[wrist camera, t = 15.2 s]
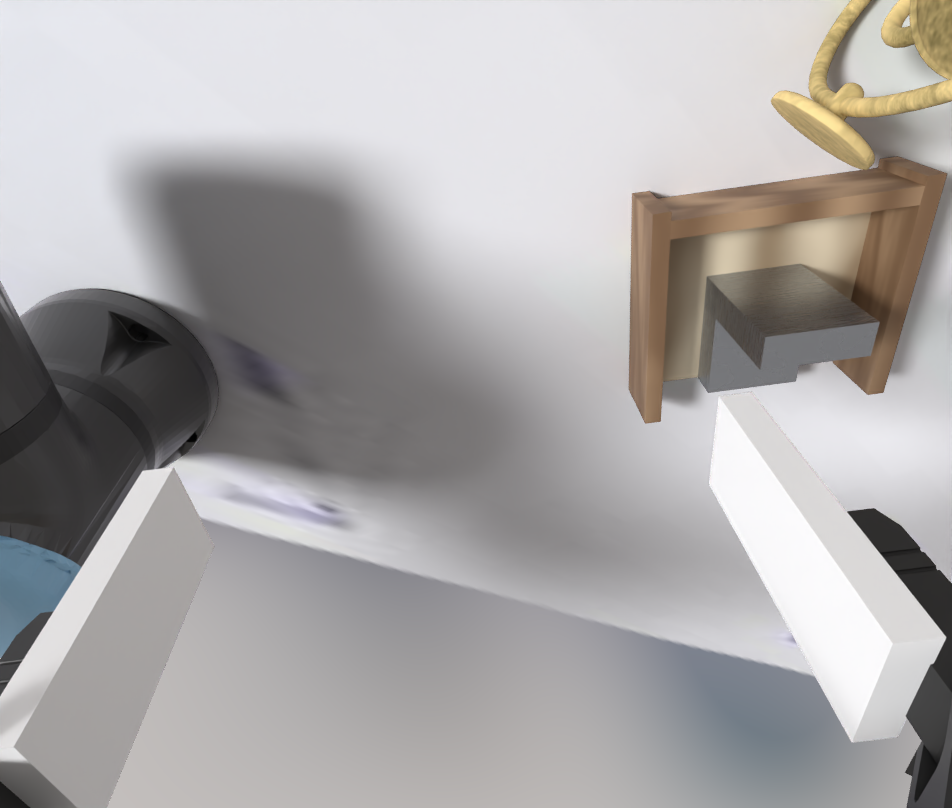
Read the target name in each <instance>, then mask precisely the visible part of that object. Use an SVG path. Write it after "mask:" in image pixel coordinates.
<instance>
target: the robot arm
mask: <svg viewBox="0 0 952 808" xmlns="http://www.w3.org/2000/svg"><path fill="white" fill-rule="evenodd" d="M217 403H218V383H217V378H216V374H215V371H214V368H213V366H212V363H211V361H210V359H209V357H208V356H207V354H206V352H205V351H204V349H203V348H202V346H201V345H200V344H199V342H198V341H197V340H196V339H195V337H194V336H193V335H192V334H191V333H190V332H189V331H188V330H187V329H186V328H185V327H184V326H183V325H182V324H180V323H179V322H178V321H177V320H175V319H174V318H173V317H171V316H170V315H168V314H167V313H165V312H164V311H162V310H161V309H159V308H157V307H155V306H153V305H151V304H149V303H147V302H145V301H143V300H140V299H138V298H135V297H132V296H129V295H126V294H122V293H118V292H114V291H108V290H100V289H77V290H70V291H65V292H61V293H58V294H55V295H52V296H50V297H48V298H46V299H44V300H42V301H40V302H39V303H38V304H36V305H35V306H34V307H32V308H31V309H30V310H28V311H27V312H26V313H24V314H23V315H22V316H21V317H19V316H18V314H17V312H16V310H15V308H14V306H13V304H12V303H11V301H10V299H9V297H8V295H7V293H6V291H5V289H4V287H3V285H2V283H1V281H0V658H1V659H0V808H107V806H108V804H109V801H110V799H111V796H112V794H113V791H114V789H115V786H116V784H117V782H118V779H119V777H120V774H121V772H122V770H123V767H124V765H125V762H126V760H127V758H128V755H129V753H130V750H131V748H132V745H133V743H134V740H135V738H136V736H137V733H138V731H139V728H140V726H141V723H142V721H143V719H144V716H145V714H146V711H147V709H148V707H149V704H150V702H151V699H152V697H153V694H154V692H155V690H156V687H157V685H158V683H159V680H160V678H161V675H162V673H163V670H164V668H165V666H166V663H167V661H168V658H169V656H170V653H171V651H172V648H173V646H174V644H175V641H176V639H177V636H178V634H179V632H180V629H181V627H182V624H183V622H184V620H185V617H186V615H187V612H188V610H189V607H190V605H191V603H192V600H193V598H194V595H195V593H196V590H197V588H198V586H199V583H200V581H201V578H202V576H203V574H204V571H205V569H206V566H207V564H208V561H209V559H210V556H211V554H212V552H213V549H214V547H215V546H214V544H213V542H212V540H211V538H210V536H209V534H208V532H207V531H206V529H205V527H204V525H203V523H202V521H201V519H200V517H199V515H198V513H197V511H196V509H195V507H194V505H193V503H192V502H191V500H190V498H189V496H188V494H187V492H186V490H185V488H184V486H183V484H182V482H181V480H180V478H179V476H178V474H177V473H176V471H175V469H174V467H169V468H166V467H167V466H169V465H170V464H171V463H173V462H174V461H176V460H177V459H179V458H180V457H181V456H183V455H184V454H186V453H187V452H188V451H189V450H191V449H192V448H193V447H194V446H195V445H196V444H197V443H198V441H199V440H200V439H201V438H202V436H203V434H204V433H205V431H206V429H207V427H208V426H209V424H210V422H211V420H212V418H213V416H214V414H215V411H216V408H217ZM709 485H710V487H711V489H712V491H713V493H714V494H715V496H716V498H717V500H718V502H719V503H720V505H721V507H722V509H723V511H724V512H725V514H726V516H727V518H728V520H729V522H730V523H731V525H732V527H733V529H734V531H735V532H736V534H737V536H738V538H739V540H740V541H741V543H742V545H743V547H744V549H745V550H746V552H747V554H748V556H749V558H750V559H751V561H752V563H753V565H754V567H755V568H756V570H757V572H758V574H759V576H760V578H761V579H762V581H763V583H764V585H765V587H766V588H767V590H768V592H769V594H770V596H771V597H772V599H773V601H774V603H775V605H776V606H777V608H778V610H779V612H780V614H781V615H782V617H783V619H784V621H785V623H786V624H787V626H788V628H789V630H790V632H791V634H792V635H793V637H794V639H795V641H796V643H797V644H798V646H799V648H800V650H801V652H802V653H803V655H804V657H805V659H806V661H807V662H808V664H809V666H810V668H811V670H812V671H813V673H814V675H815V677H816V679H817V680H818V682H819V684H820V686H821V688H822V690H823V691H824V693H825V695H826V697H827V699H828V700H829V702H830V704H831V706H832V708H833V709H834V711H835V713H836V715H837V717H838V718H839V720H840V722H841V724H842V726H843V727H844V729H845V731H846V733H847V735H848V736H849V738H850V740H851V742H861V741H869V740H879V739H887V738H896V737H898V735H899V733H900V731H901V729H902V727H903V725H904V723H905V721H906V719H908V720H909V722H910V723H911V725H912V726H913V728H914V730H915V731H916V732H917V734H918V736H919V737H920V739H921V740H922V742H921V744H920V746H919V747H918V749H917V751H916V753H915V756H914V757H913V759H912V761H911V762H910V764H909V766H908V768H907V770H906V772H905V773H907V774H909V775H911V776H912V781H911V786H910V792H909V797H908V803H907V808H952V583H951V582H950V581H949V580H948V579H947V578H946V577H945V575H944V574H943V573H942V572H941V571H940V570H937V569H936V565H935V564H934V563H933V562H932V561H931V559H930V558H929V557H928V556H927V555H926V554H925V553H924V552H921V551H920V547H919V546H918V545H917V543H916V542H915V541H914V540H913V539H912V538H911V537H910V535H909V534H908V533H907V532H906V531H905V530H904V529H903V527H902V526H900V525H899V524H897V523H896V522H894V521H893V520H891V519H890V518H888V517H887V516H885V515H883V514H882V513H880V512H879V511H877V510H876V509H874V508H872V509H864V510H856V511H848V512H847V511H846V510H845V509H844V508H843V506H842V505H841V504H840V503H839V501H838V500H837V499H836V497H835V496H834V495H833V494H832V492H831V491H830V490H829V489H828V487H827V486H826V485H825V484H824V482H823V481H822V480H821V479H820V477H819V476H818V475H817V474H816V472H815V471H814V470H813V468H812V467H811V466H810V465H809V463H808V462H807V461H806V460H805V458H804V457H803V456H802V455H801V453H800V452H799V451H798V450H797V448H796V447H795V446H794V445H793V443H792V442H791V441H790V439H789V438H788V437H787V436H786V434H785V433H784V432H783V431H782V429H781V428H780V427H779V426H778V424H777V423H776V422H775V421H774V419H773V418H772V417H771V416H770V414H769V413H768V412H767V410H766V409H765V408H764V407H763V405H762V404H761V403H760V402H759V400H758V399H757V398H756V397H755V395H754V394H753V393H752V392H746V393H739V394H731V395H723V396H719V400H718V409H717V418H716V426H715V435H714V444H713V452H712V461H711V470H710V479H709Z"/></svg>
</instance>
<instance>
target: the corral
mask: <svg viewBox="0 0 952 808" xmlns="http://www.w3.org/2000/svg"><path fill="white" fill-rule="evenodd" d="M946 176H947V173H944V172H942V171H939V170H936V169H933V168H930V167H927V166H924V165H921V164H918V163H915V162H912V161H909V160H907V159H904V158H901V157H898V156H897V157H890V158H882V159H880V161H879V165H878V168H873V169H867V170H859V171H852V172H844V173H837V174H830V175H823V176H816V177H809V178H801V179H794V180H787V181H780V182H773V183H766V184H758V185H751V186H744V187H737V188H730V189H723V190H715V191H708V192H701V193H694V194H687V195H680V196H672V197H665V198H658V199H657V198H656V197H655V196H654V195H653V194H652V193H651V192H650V191H647V192H639V193H632V233H631V292H630V352H629V391H630V393H631V395H632V397H633V399H634V401H635V403H636V405H637V407H638V409H639V412H640V414H641V416H642V418H643V420H644V422H645V423H653V422H661V405H662V387H663V382H665V381H672V380H680V379H688V378H695V377H698V369H699V358H700V346H701V335H702V324H703V313H704V302H705V291H706V279H707V276H712V275H719V274H727V273H734V272H742V271H749V270H756V269H764V268H771V267H778V266H786V265H793V264H801V265H803V266H804V267H806V268H807V269H808V270H810V271H811V272H812V273H814V274H815V275H816V276H818V277H819V278H821V279H822V280H823V281H825V282H826V283H827V284H829V285H830V286H831V287H833V288H834V289H836V290H837V291H838V292H840V293H841V294H842V295H844V296H845V297H846V298H848V299H849V300H851V301H852V302H853V303H855V304H856V305H857V306H859V307H860V308H861V309H863V310H864V311H865V312H867V313H868V314H870V315H871V316H872V317H874V318H875V319H876V320H878V321H879V322H880V323H879V327H878V331H877V334H876V338H875V342H874V346H873V349H872V353H871V356H866V357H858V358H851V359H843V360H835V361H833V363H834V364H835V365H836V366H837V367H838V368H839V369H840V370H841V371H842V372H844V373H845V374H846V375H847V376H848V377H849V378H850V379H851V380H852V381H853V382H854V383H855V384H857V385H858V386H859V387H860V388H861V389H862V390H863V391H864V392H865V393H866V394H867V395H870V394H878V393H883V392H884V389H885V385H886V382H887V378H888V375H889V372H890V368H891V365H892V361H893V358H894V354H895V351H896V348H897V344H898V341H899V337H900V334H901V331H902V327H903V324H904V320H905V317H906V313H907V310H908V307H909V303H910V300H911V296H912V293H913V289H914V286H915V283H916V279H917V276H918V272H919V269H920V265H921V262H922V259H923V255H924V252H925V248H926V245H927V242H928V238H929V235H930V231H931V228H932V224H933V221H934V218H935V214H936V211H937V207H938V204H939V200H940V197H941V194H942V190H943V187H944V183H945V180H946Z"/></svg>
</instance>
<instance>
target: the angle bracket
mask: <svg viewBox="0 0 952 808" xmlns="http://www.w3.org/2000/svg"><path fill="white" fill-rule="evenodd" d="M879 323H880V322H879V321H878V320H876V319H875V318H874V317H872V316H871V315H870V314H868V313H867V312H865V311H864V310H863V309H861V308H860V307H859V306H857V305H856V304H855V303H853V302H852V301H851V300H849V299H848V298H846V297H845V296H844V295H842V294H841V293H840V292H838V291H837V290H836V289H834V288H833V287H831V286H830V285H829V284H827V283H826V282H825V281H823V280H822V279H821V278H819V277H818V276H816V275H815V274H814V273H812V272H811V271H810V270H808V269H807V268H806V267H804V266H803V265H801V264H793V265H786V266H778V267H771V268H764V269H756V270H749V271H742V272H734V273H727V274H719V275H712V276H707V279H706V291H705V302H704V313H703V324H702V335H701V346H700V358H699V369H698V379H699V380H700V382H701V383H702V384H703V386H704V387H705V389H706V390H707V392H708V393H711V392H718V391H726V390H734V389H741V388H749V387H757V386H764V385H772V384H780V383H787V382H795V381H796V378H797V373H798V368H799V365H805V364H813V363H820V362H828V361H835V360H843V359H851V358H858V357H866V356H871V353H872V349H873V346H874V342H875V338H876V334H877V331H878V327H879Z"/></svg>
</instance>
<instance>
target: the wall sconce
mask: <svg viewBox="0 0 952 808" xmlns="http://www.w3.org/2000/svg"><path fill="white" fill-rule="evenodd" d="M870 1H871V0H851V1H850V2H849V4H848V5H847V6H846V8H845V9H844V10H843V12H842V13H841V14H840V16H839V17H838V19H837V20H836V22H835V23H834V24H833V26H832V27H831V29H830V31H829V32H828V34H827V36H826V37H825V39H824V41H823V43H822V45H821V47H820V49H819V51H818V53H817V55H816V58H815V60H814V63H813V66H812V69H811V73H810V77H809V91H810V95H811V98H812V99H813V100H814V101H813V100H811V99H809V98H807V97H805V96H802V95H800V94H798V93H794V92H790V91H779V92H778V93H776V94H775V95H774V97H773V98H772V99H771V103H772V105H773V106H774V108H775V109H776V110H777V111H778V113H779V114H780V115H781V116H782V117H783V118H784V119H785V120H786V121H787V122H789V123H790V124H791V125H792V126H793V127H794V128H795V129H797V130H798V131H799V132H800V133H802V134H803V135H804V136H805V137H807V138H808V139H809V140H811V141H812V142H814V143H815V144H816V145H818V146H819V147H821V148H822V149H824V150H825V151H827V152H828V153H830V154H831V155H833V156H835V157H836V158H838V159H840V160H842V161H843V162H845V163H847V164H849V165H851V166H854V167H856V168H859V169H862V170H867V169H869V168H870V167H871V166H872V164H873V163H874V161H875V156H874V153H873V151H872V149H871V147H870V146H869V145H868V143H867V142H866V141H865V140H864V139H863V138H862V137H861V136H860V135H859V133H857V132H856V131H855V130H854V129H853V128H852V127H851V126H850V125H848V124H847V123H846V122H845V121H844V120H845V119H846V117H847V116H850V117H859V118H861V117H880V116H887V115H895V114H900V113H905V112H911V111H916V110H920V109H924V108H928V107H932V106H936V105H940V104H944V103H947V102H950V101H952V0H899V1H898V2H897V3H896V5H895V6H894V7H893V8H892V10H891V11H890V13H889V14H888V15H887V17H886V18H885V21H884V23H883V26H882V29H881V37H882V39H883V41H884V42H885V44H886V45H888V46H891V47H893V48H900V47H907V46H910V45H913V44H915V46H916V48H917V50H918V52H919V54H920V56H921V57H922V59H923V60H924V61H925V63H926V64H927V65H928V66H929V67H930V68H931V69H932V70H934V71H935V72H936V73H937V74H939V75H941V76H943V77H944V78H946V79H949V80H946V81H943V82H940V83H936V84H933V85H929V86H926V87H922V88H919V89H915V90H911V91H906V92H902V93H898V94H893V95H887V96H881V97H869V98H863V97H864V91H863V89H862V87H861V86H860V85H858V84H856V83H846V84H845V85H844V86H843V87H841V89H840V90H839V91H838V92H837V93H835V92H833V91H832V90H831V89H830V88H828V85H827V73H828V70H829V66H830V63H831V61H832V59H833V56H834V54H835V52H836V50H837V48H838V46H839V44H840V43H841V41H842V39H843V38H844V36H845V34H846V33H847V31H848V30H849V29H850V27H851V26H852V24H853V23H854V21H855V20H856V19H857V18H858V16H859V15H860V14H861V12H862V11H863V10H864V9H865V7H866V6H867V5H868V4H869V3H870ZM909 14H910V26H908V27H902V24H903V22H904V21H905V19H906V18H907V17H908V15H909Z"/></svg>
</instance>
